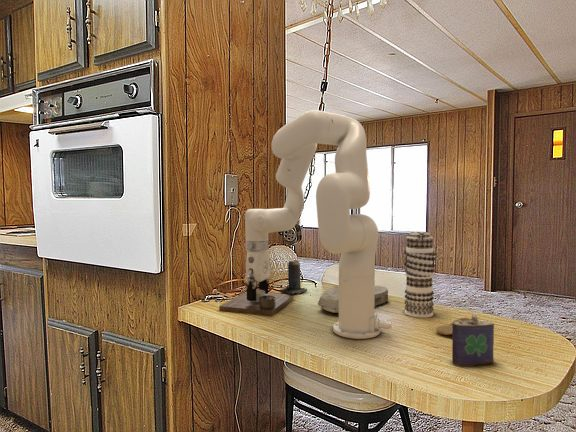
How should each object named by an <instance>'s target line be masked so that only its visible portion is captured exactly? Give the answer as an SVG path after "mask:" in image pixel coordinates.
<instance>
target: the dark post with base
mask: <svg viewBox="0 0 576 432" xmlns="http://www.w3.org/2000/svg"><path fill="white" fill-rule="evenodd" d="M287 275H288V277H287V279H288V287H285V288H282V289H281V288H280V289H279V291H280V293H287V295H293V296H294V295H295V294H297V295H300V293H301V294H302V293H304V292H305V293H306V292H308V288H306V287H301V263H300V261H299V260H296V259H295V260H289V262H288V263H287Z"/></svg>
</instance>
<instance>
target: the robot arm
mask: <svg viewBox="0 0 576 432" xmlns="http://www.w3.org/2000/svg"><path fill="white" fill-rule="evenodd" d="M318 144H319V145H329V146H336V147H337V149H336V151H335V154H334V167H335V172H331V173H327V174H325V175H324V176H323V177H322V178H321V179H320V181H319V182H318V184H317V188H316V191H315V203H316V205H315V206H316V214H317V215H316V216H317V217H316V218H317V225H318V226H317V228H318V236H319V241H320V243H321V245H322V247H323V248H324V250H326V251H327V252H329V253H330V254H334V255H340V256H339V261H338V287H339V313H338V321H337V322H335V323H334V324H333V325H332V331H333V332H334V333H335V335H337V336H340V337H342V338H346V339H355V340H367V339H371V338H372V339H373V338H375V337H377V336H379V335H380V334H381V329H384V330H392V322H391V321H389V320H388V319H381V318H379V317H378V313H376V312H375V306H374V304H375V286H376V285H375V284H376V283H375V281H376V279H375V277H376V275H375V274H376V253H377V249H378V248H377V247H378V241H379V228H378V225H377V223H376V222H375V220H374V219H373V218H372V217H370V216H368V215H366V214H362V213H352V214H351V213H350V212H351V211H350V210H356V209H361V208H363V207H365V206H366V205H367V204H368V203H369V200H370V196H371V190H370V189H371V188H370V178H369V177H370V176H369V166H368V158H367V157H368V156H367V135H366V130H365V128H364V126H363V125H362V124H361V122H360V121H358V120H357V119H355V118H353V117H350V116H347V115H343V114H339V113H335V112H328V111H323V110H319V109H311V110H308V111H305V112H303V113H301V114H300V115H299V116H297V117H295V118H294V119H292V120H291V121H289V122H288V123H286V124H285V125H283V126H281V128H279V129H278V130H277V131H276V133H275V134H274V135H273V138H272V141H271V151H272V153H273V155H274V156H275V157H276V158H278V159H281V161H280V163H279V166H278V167H277V170H276V173H275V180H276V182H277V183H278V184H279V185H280V186H282V187H284V188H286V190H287V196H286V200H285V202H284V205H283V207H278V208H277V207H275V208H248V209H247V210H246V211H245V213H244V220H245V221H244V222H245V224H244V225H245V226H244V227H245V252H246V259H245V275H244V278H243V279H244V285H245V289H246V292H247V300H248V301H256V290H257V288H256V286H257V282H258V290H264V291H265V294H268V293H269V280H270V279H269V278H270V277H271V263H270V262H271V261H270V259H271V258H270V252H269V251H270V250H269V248H270V247H269V234H271V233H280V232H287V231H288V232H289V231H291V230H292V229H294V228H295V226H296V225H297V223H298V222H299V219H300V217H301V214H302V212H303V210H304V205H305V198H304V197H305V196H304V191H303V183H304V181H305V179H306V175H307V173H308V171H309V168H310V166H311V164H312V161H313V159H314V156H315V154H316V151H317V147H318Z"/></svg>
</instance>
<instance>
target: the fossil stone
mask: <svg viewBox="0 0 576 432" xmlns="http://www.w3.org/2000/svg"><path fill="white" fill-rule="evenodd" d="M388 300H389V290H388V288H387V287H386V286H382V285H375V304H374V307H377V306H378V305H379V306H381V304H385V303H386V302H387V301H388ZM317 305H318V306H319V307H321V308H322V309H323V310H325V311H326V312H330V313H334V314H335V313H336V314H339V286H338V285H334V286H333V287H330V288H328V289H327V290H325V291H324V292H322V293H321V295H320V297H319V300H318V301H317Z"/></svg>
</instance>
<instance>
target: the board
mask: <svg viewBox="0 0 576 432" xmlns="http://www.w3.org/2000/svg"><path fill="white" fill-rule="evenodd" d="M266 295H270V296H274V297H275V307H274V308H272V309H262V308H260V307H259V302H252V301H248V300H247V291H245V292H242V293H241V294H239V295H238V296H236V297H233V298H232V299H230V300H228V301H227V302H224V303H223V304H220V305H219V307H218V308H219V312H230V313H238V314H248V315H256V316H266V317H267V316H268V317H273V316H274V315H275V314H276V313H277V312H279V311H280V310H281V309H284V307H286V306H287V305H288V304H290V303H291V302H292V301H294V294H293V295H292V294H283V293H282V294H281V293H270V292H268V294H265V296H266Z"/></svg>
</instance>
